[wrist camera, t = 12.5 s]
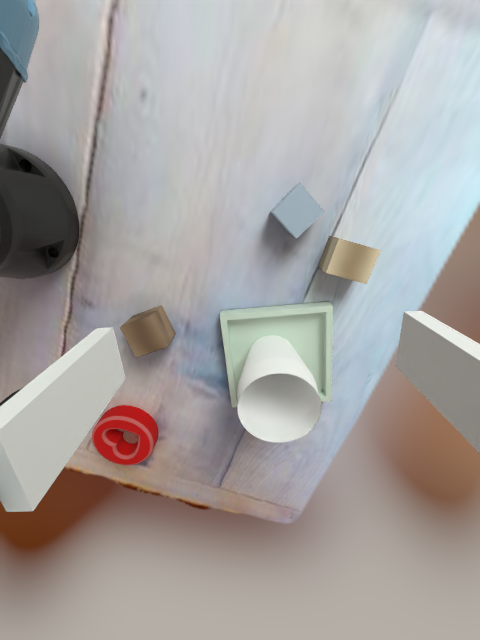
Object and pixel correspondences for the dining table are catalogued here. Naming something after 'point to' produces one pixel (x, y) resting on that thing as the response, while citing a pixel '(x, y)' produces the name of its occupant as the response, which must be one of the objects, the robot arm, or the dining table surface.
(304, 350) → the tray
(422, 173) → the dining table surface
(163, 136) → the dining table surface
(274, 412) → the cup
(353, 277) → the oak block
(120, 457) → the decorative ornament
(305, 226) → the slate blue block
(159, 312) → the walnut block
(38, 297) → the dining table surface
